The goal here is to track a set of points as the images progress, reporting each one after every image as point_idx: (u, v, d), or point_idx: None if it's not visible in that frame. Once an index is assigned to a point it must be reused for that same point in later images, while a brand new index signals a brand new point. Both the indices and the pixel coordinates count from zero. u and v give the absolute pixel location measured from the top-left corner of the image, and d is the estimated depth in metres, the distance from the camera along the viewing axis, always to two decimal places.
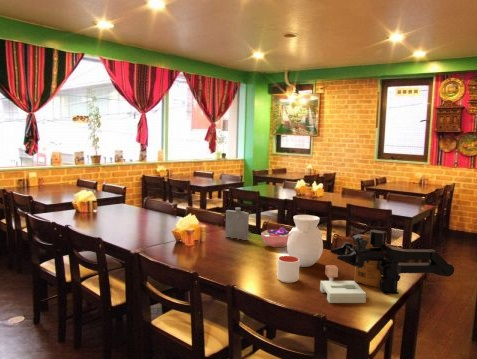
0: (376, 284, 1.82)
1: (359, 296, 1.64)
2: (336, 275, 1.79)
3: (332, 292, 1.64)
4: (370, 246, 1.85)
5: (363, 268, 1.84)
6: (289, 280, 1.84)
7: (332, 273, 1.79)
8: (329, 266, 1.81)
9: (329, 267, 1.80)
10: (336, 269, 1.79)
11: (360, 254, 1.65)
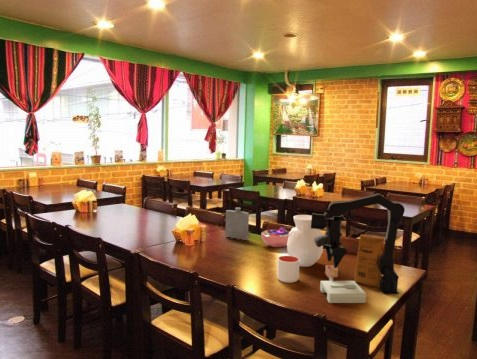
0: (376, 284, 1.82)
1: (359, 296, 1.64)
2: (336, 275, 1.79)
3: (332, 292, 1.64)
4: (370, 246, 1.85)
5: (363, 268, 1.84)
6: (289, 280, 1.84)
7: (332, 273, 1.79)
8: (329, 266, 1.81)
9: (329, 267, 1.80)
10: (336, 269, 1.79)
11: (333, 252, 1.71)
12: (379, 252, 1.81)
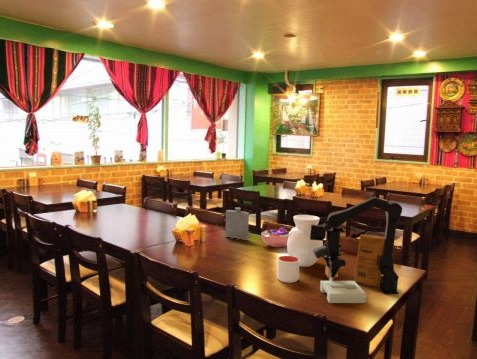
0: (376, 284, 1.82)
1: (359, 296, 1.64)
2: (336, 275, 1.79)
3: (332, 292, 1.64)
4: (370, 246, 1.85)
5: (363, 268, 1.84)
6: (289, 280, 1.84)
7: None
8: (329, 266, 1.81)
9: (329, 267, 1.80)
10: None
11: (332, 264, 1.71)
12: (379, 252, 1.81)
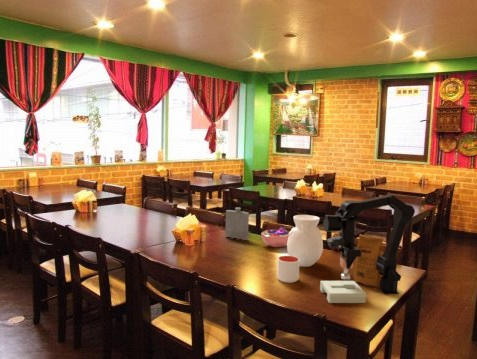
0: (375, 284, 1.82)
1: (359, 296, 1.64)
2: (351, 266, 1.71)
3: (332, 292, 1.64)
4: (369, 246, 1.84)
5: (362, 268, 1.84)
6: (289, 280, 1.84)
7: None
8: (344, 257, 1.73)
9: (344, 258, 1.72)
10: None
11: (347, 254, 1.63)
12: (377, 252, 1.80)
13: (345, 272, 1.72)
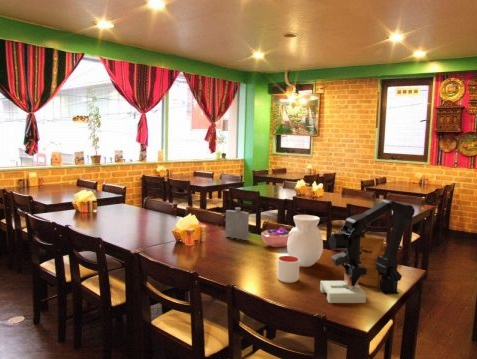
0: (375, 284, 1.82)
1: (359, 296, 1.64)
2: (356, 284, 1.69)
3: (332, 292, 1.64)
4: (370, 246, 1.85)
5: None
6: (289, 280, 1.84)
7: None
8: (348, 274, 1.71)
9: (348, 275, 1.69)
10: None
11: (353, 272, 1.61)
12: (378, 252, 1.81)
13: None
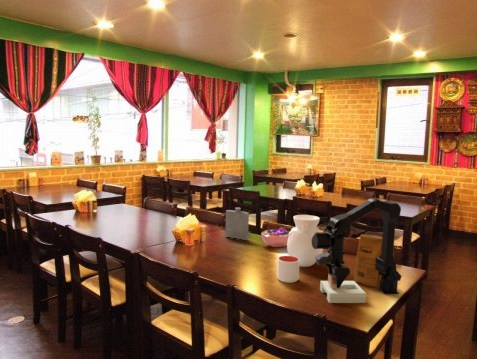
0: (375, 284, 1.82)
1: (359, 296, 1.64)
2: None
3: (332, 292, 1.64)
4: (370, 246, 1.85)
5: (362, 268, 1.84)
6: (289, 280, 1.84)
7: (335, 282, 1.68)
8: (332, 275, 1.70)
9: (332, 276, 1.69)
10: None
11: (335, 272, 1.60)
12: (378, 252, 1.81)
13: None
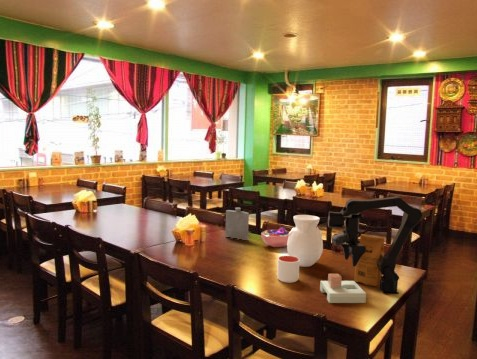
0: (376, 284, 1.82)
1: (359, 296, 1.64)
2: (339, 284, 1.68)
3: (332, 292, 1.64)
4: (370, 246, 1.85)
5: (363, 267, 1.84)
6: (289, 280, 1.84)
7: (335, 282, 1.68)
8: (332, 275, 1.70)
9: (332, 276, 1.69)
10: (339, 278, 1.68)
11: (353, 250, 1.68)
12: (379, 252, 1.81)
13: None
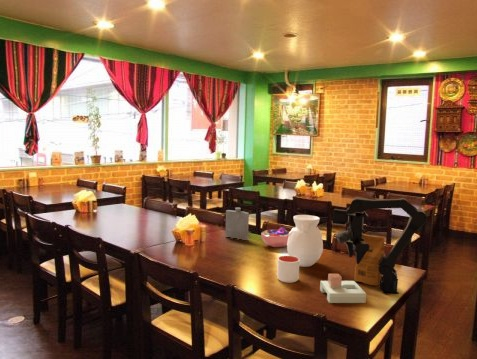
0: (376, 283, 1.82)
1: (359, 296, 1.64)
2: (339, 284, 1.68)
3: (332, 292, 1.64)
4: (371, 245, 1.86)
5: (363, 267, 1.84)
6: (289, 280, 1.84)
7: (335, 282, 1.68)
8: (332, 275, 1.70)
9: (332, 276, 1.69)
10: (339, 278, 1.68)
11: (356, 248, 1.71)
12: (379, 251, 1.82)
13: None
